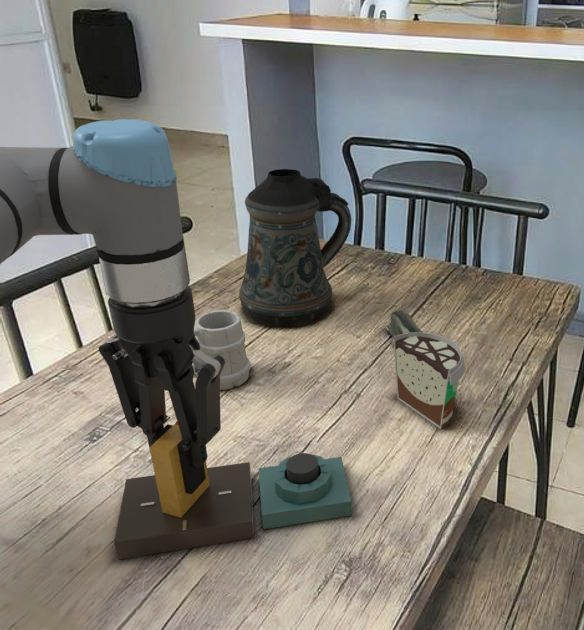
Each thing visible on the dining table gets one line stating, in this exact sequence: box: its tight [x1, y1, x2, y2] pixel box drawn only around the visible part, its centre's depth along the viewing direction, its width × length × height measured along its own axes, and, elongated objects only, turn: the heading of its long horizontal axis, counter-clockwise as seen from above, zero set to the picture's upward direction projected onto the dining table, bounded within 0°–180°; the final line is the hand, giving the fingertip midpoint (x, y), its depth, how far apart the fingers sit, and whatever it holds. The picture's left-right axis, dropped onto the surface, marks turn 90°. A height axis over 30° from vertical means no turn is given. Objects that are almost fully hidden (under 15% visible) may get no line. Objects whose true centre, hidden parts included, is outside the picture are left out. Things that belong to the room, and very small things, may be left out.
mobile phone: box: [385, 310, 424, 338], centre depth 110 cm, size 5×3×15 cm
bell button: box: [286, 452, 319, 485], centre depth 78 cm, size 4×4×2 cm
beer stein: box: [238, 168, 352, 329], centre depth 119 cm, size 16×19×25 cm
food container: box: [391, 331, 466, 430], centre depth 96 cm, size 12×6×10 cm, turn 41°
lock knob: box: [149, 420, 210, 518], centre depth 74 cm, size 6×2×9 cm, turn 162°
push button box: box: [258, 454, 353, 530], centre depth 80 cm, size 10×8×4 cm
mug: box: [192, 309, 251, 391], centre depth 99 cm, size 8×12×12 cm, turn 127°
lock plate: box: [113, 461, 255, 560], centre depth 77 cm, size 14×10×3 cm
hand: (183, 482), depth 75 cm, fingers closed on lock knob, 2 cm apart
